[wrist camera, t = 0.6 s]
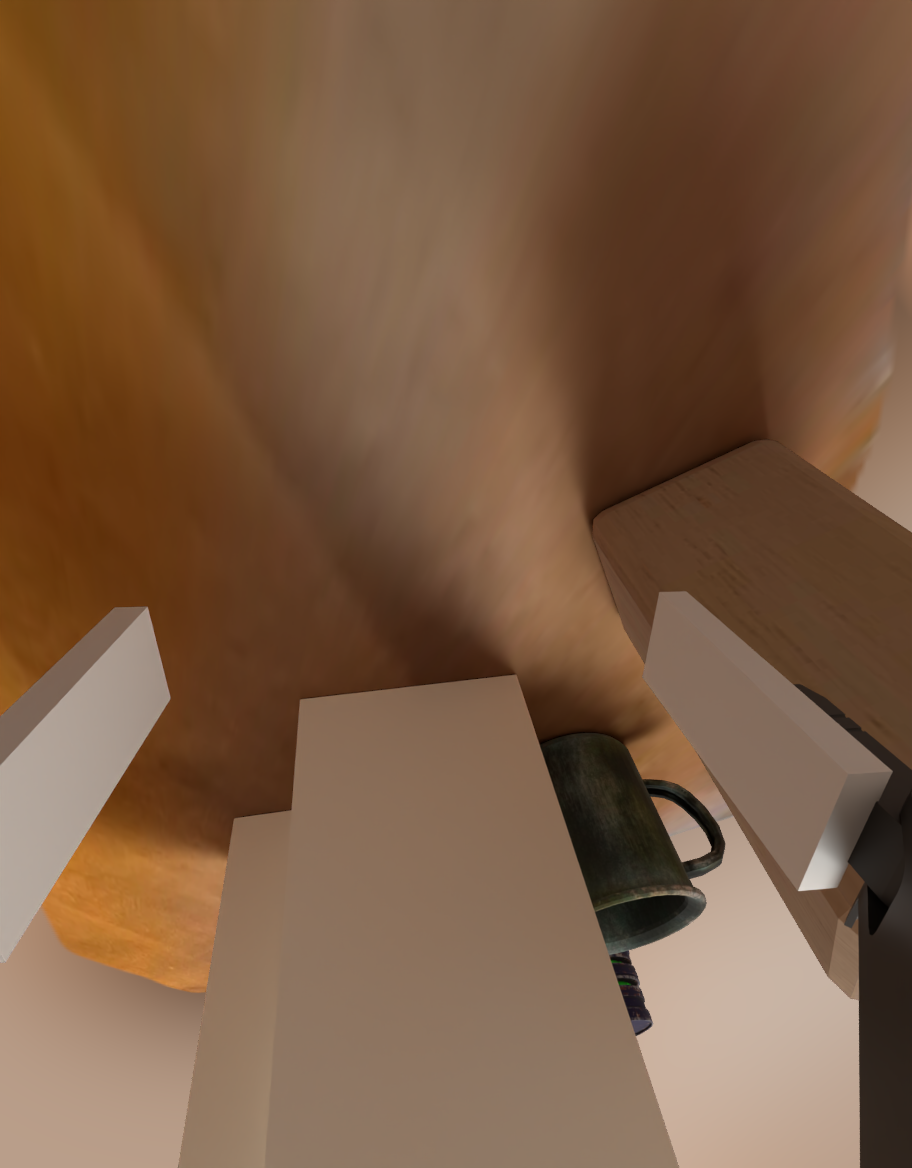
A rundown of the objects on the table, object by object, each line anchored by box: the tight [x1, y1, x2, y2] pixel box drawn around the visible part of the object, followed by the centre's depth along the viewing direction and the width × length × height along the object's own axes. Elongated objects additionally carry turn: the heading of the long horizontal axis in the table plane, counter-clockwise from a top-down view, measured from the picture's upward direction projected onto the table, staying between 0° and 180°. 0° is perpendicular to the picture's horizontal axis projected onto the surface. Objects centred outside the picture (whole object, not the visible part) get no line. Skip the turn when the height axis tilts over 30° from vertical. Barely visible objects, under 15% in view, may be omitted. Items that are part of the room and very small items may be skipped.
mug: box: [540, 733, 725, 955], centre depth 39 cm, size 11×15×12 cm
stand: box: [264, 675, 679, 1168], centre depth 26 cm, size 10×14×30 cm
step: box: [178, 810, 292, 1168], centre depth 37 cm, size 8×12×20 cm, turn 90°
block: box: [593, 439, 912, 1000], centre depth 23 cm, size 10×10×20 cm
